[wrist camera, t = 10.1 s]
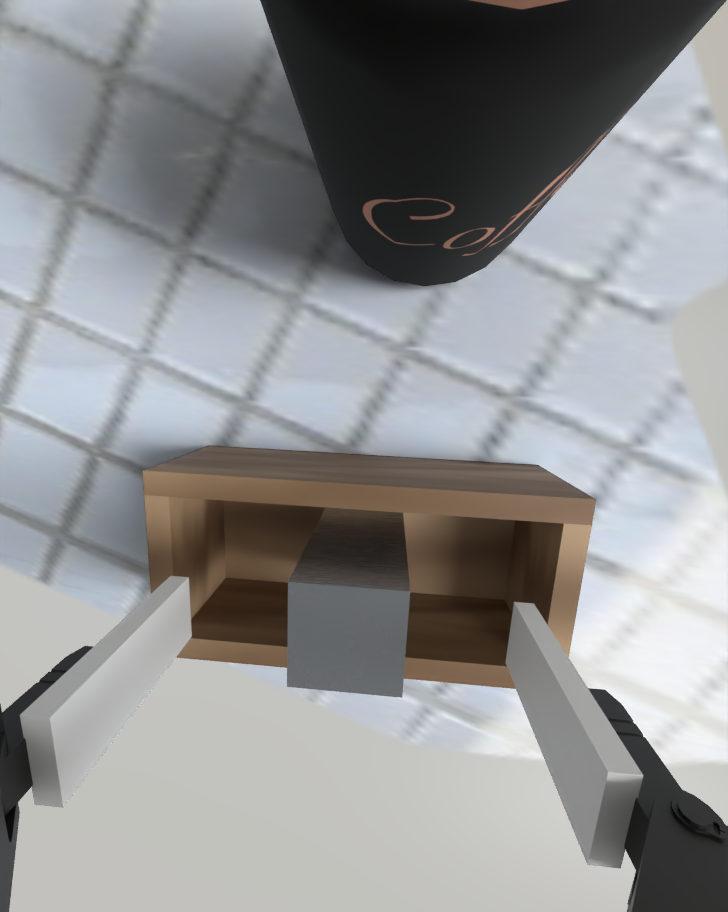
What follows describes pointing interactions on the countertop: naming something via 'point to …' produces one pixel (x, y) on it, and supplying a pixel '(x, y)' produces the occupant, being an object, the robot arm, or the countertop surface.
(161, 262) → the countertop surface
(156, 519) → the trough
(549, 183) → the coffee jar
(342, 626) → the steel bar
